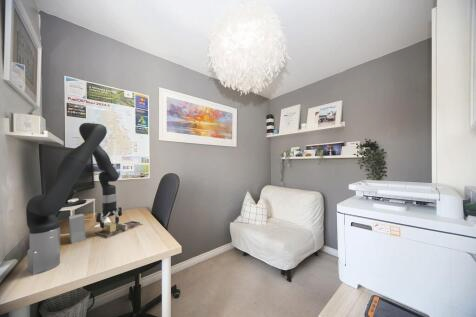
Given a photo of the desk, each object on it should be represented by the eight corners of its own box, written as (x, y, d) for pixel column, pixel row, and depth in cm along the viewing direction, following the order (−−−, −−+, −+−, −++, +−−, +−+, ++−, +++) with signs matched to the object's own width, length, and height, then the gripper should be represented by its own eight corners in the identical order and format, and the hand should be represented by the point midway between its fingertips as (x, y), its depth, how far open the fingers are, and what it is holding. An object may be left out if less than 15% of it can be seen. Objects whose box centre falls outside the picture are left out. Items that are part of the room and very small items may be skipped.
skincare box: (86, 241, 101) (85, 215, 101) (69, 246, 96) (69, 218, 96) (84, 237, 107) (84, 212, 107) (68, 241, 102) (68, 215, 102)
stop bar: (116, 232, 111) (116, 223, 111) (110, 234, 108) (110, 225, 108) (107, 230, 114) (107, 221, 115) (102, 232, 111) (101, 223, 111)
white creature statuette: (103, 224, 130) (103, 208, 130) (114, 223, 130) (114, 208, 131) (93, 228, 121) (93, 212, 121) (106, 228, 121) (105, 211, 121)
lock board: (106, 240, 102) (106, 232, 102) (91, 236, 109) (91, 228, 109) (143, 225, 125) (143, 218, 125) (129, 222, 132) (129, 216, 132)
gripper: (100, 204, 103) (100, 230, 103) (124, 199, 116) (124, 222, 116) (93, 203, 106) (94, 228, 106) (117, 198, 119) (117, 220, 119)
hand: (109, 225), depth 111 cm, fingers open, 8 cm apart
